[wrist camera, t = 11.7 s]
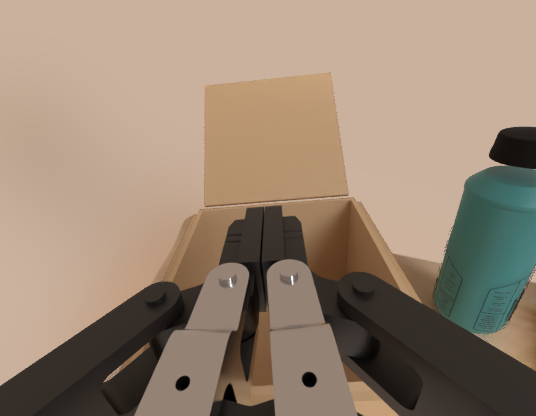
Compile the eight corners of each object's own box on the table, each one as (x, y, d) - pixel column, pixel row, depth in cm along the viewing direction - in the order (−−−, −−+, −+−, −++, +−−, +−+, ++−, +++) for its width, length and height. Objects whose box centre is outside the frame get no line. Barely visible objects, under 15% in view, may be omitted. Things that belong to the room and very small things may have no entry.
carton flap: (348, 194, 28) (347, 195, 28) (330, 72, 32) (330, 75, 32) (204, 205, 28) (205, 206, 29) (204, 85, 32) (205, 88, 33)
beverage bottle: (507, 357, 25) (631, 147, 15) (426, 331, 28) (484, 141, 18) (496, 304, 30) (583, 120, 20) (427, 287, 33) (474, 119, 23)
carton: (350, 287, 34) (357, 196, 28) (421, 497, 18) (478, 396, 12) (219, 295, 35) (196, 209, 28) (175, 501, 19) (100, 411, 12)
